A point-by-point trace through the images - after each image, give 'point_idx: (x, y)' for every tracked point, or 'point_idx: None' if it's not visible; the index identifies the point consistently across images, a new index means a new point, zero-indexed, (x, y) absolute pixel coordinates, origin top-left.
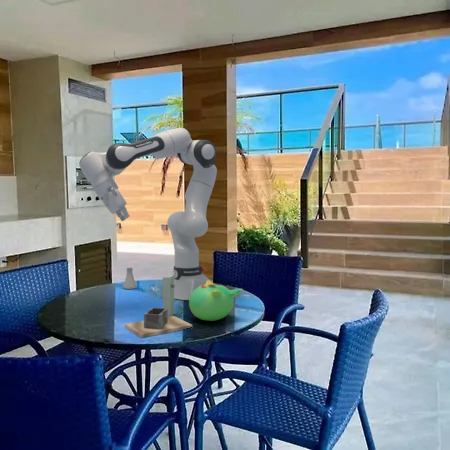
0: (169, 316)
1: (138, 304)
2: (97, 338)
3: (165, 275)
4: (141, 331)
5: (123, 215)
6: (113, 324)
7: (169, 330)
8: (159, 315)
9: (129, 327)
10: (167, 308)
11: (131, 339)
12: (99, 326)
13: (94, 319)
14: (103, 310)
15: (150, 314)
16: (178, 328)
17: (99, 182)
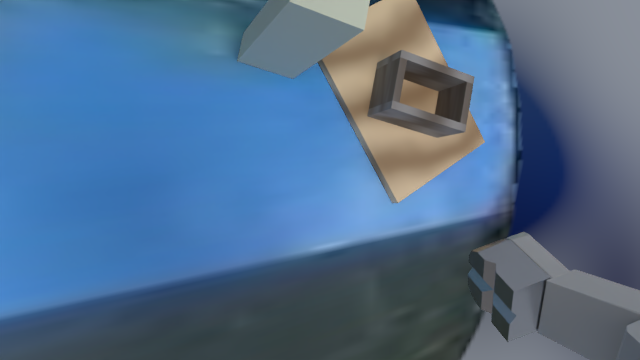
0: None
1: (73, 189)
2: None
3: (323, 12)
4: (463, 143)
5: (513, 335)
6: (364, 245)
7: (443, 61)
8: (473, 81)
9: (424, 183)
10: (402, 50)
11: (487, 168)
12: (383, 287)
13: (308, 328)
14: (181, 330)
15: (467, 110)
16: (429, 33)
17: None
